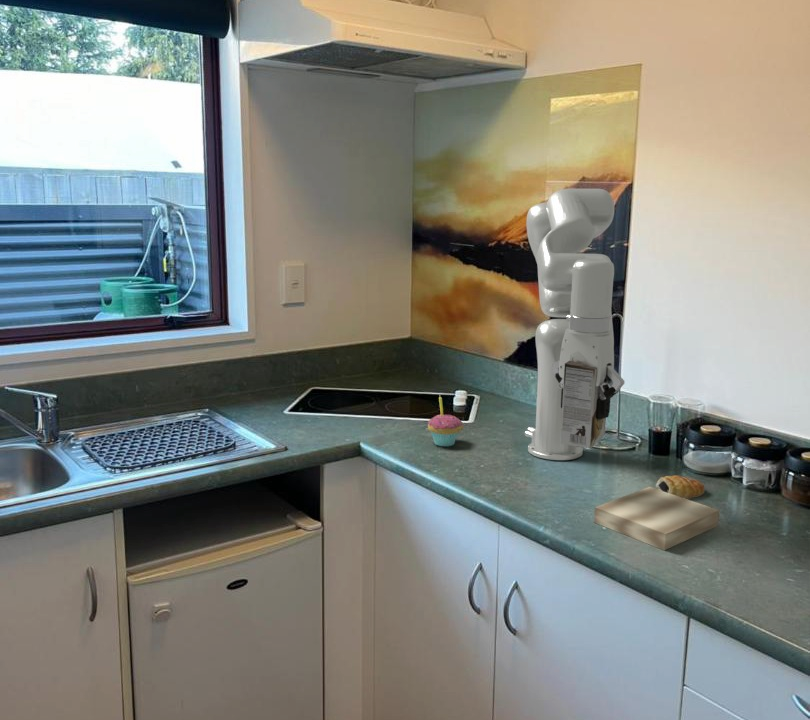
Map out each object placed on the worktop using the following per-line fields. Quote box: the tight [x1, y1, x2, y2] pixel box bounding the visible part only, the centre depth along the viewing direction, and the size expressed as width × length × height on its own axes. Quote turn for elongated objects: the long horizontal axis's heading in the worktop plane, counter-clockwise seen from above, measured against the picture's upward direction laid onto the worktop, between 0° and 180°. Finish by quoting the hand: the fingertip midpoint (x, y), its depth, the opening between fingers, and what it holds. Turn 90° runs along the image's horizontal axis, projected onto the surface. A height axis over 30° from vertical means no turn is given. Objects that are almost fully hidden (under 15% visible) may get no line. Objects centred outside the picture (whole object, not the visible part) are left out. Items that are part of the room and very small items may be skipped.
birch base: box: [593, 486, 721, 551], centre depth 148 cm, size 15×17×3 cm
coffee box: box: [560, 361, 607, 450], centre depth 155 cm, size 9×6×16 cm
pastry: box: [655, 474, 705, 500], centre depth 163 cm, size 9×7×4 cm
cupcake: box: [427, 393, 464, 447], centre depth 193 cm, size 9×8×12 cm
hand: (584, 412), depth 156 cm, fingers closed on coffee box, 8 cm apart
